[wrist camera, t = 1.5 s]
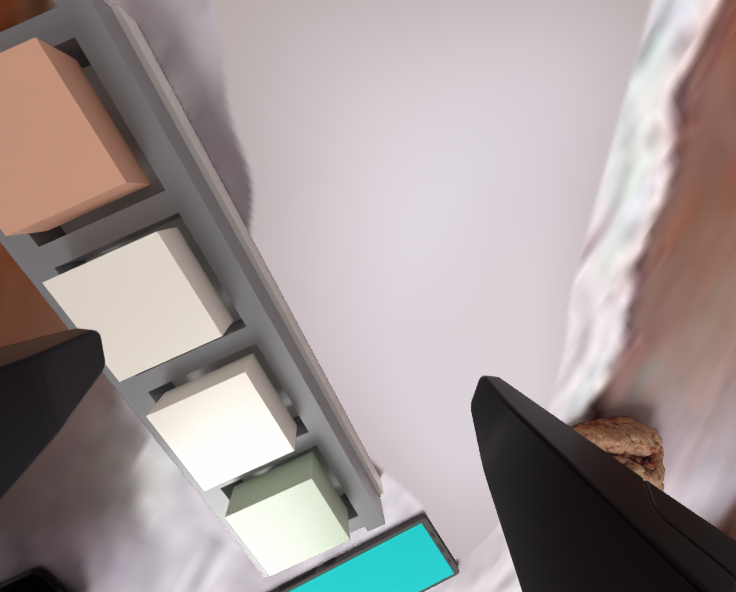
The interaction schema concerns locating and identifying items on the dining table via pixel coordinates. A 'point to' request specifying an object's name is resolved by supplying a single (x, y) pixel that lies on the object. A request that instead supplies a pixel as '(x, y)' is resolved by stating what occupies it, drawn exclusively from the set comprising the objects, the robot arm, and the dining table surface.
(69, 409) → the robot arm
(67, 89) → the terracotta key
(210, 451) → the cream key
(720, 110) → the dining table surface
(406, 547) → the smartphone
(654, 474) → the cookie
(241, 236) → the keypad
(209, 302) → the cream key
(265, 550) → the sage key
